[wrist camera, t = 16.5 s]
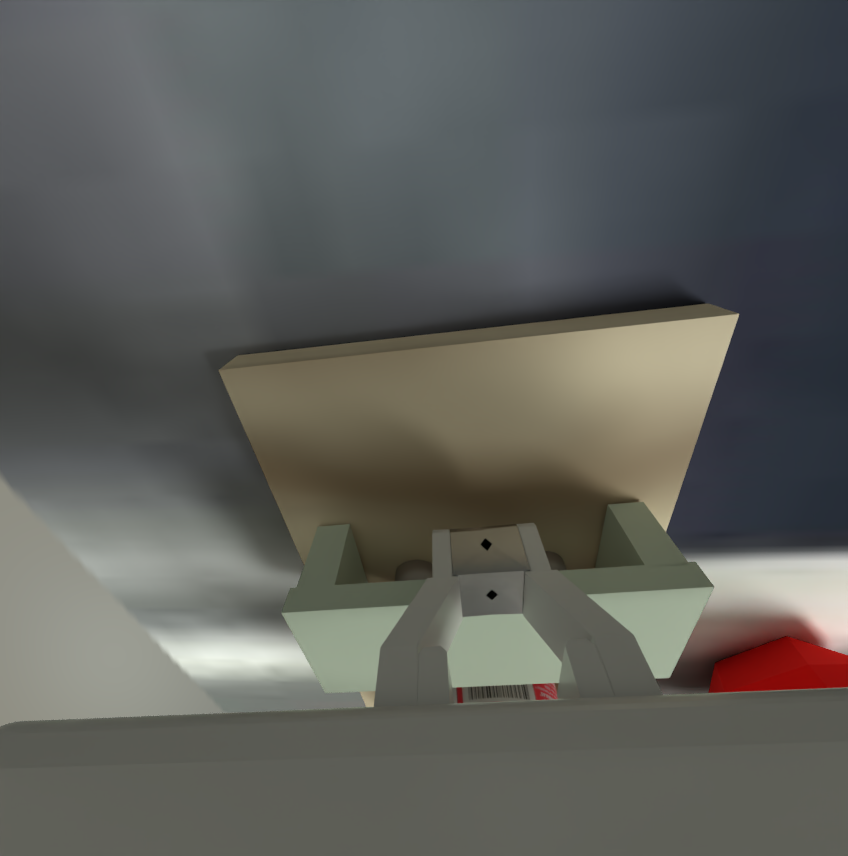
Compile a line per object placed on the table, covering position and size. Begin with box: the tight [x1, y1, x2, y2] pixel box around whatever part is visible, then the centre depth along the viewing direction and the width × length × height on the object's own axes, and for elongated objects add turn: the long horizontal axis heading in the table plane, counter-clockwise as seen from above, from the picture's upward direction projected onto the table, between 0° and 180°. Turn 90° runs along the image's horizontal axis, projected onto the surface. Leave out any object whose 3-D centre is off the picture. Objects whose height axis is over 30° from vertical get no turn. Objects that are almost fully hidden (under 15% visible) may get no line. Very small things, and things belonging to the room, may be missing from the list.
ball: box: [709, 636, 848, 693], centre depth 17 cm, size 8×8×8 cm
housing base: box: [218, 304, 739, 707], centre depth 15 cm, size 22×14×3 cm, turn 7°
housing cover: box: [282, 502, 714, 693], centre depth 13 cm, size 5×12×3 cm, turn 96°
